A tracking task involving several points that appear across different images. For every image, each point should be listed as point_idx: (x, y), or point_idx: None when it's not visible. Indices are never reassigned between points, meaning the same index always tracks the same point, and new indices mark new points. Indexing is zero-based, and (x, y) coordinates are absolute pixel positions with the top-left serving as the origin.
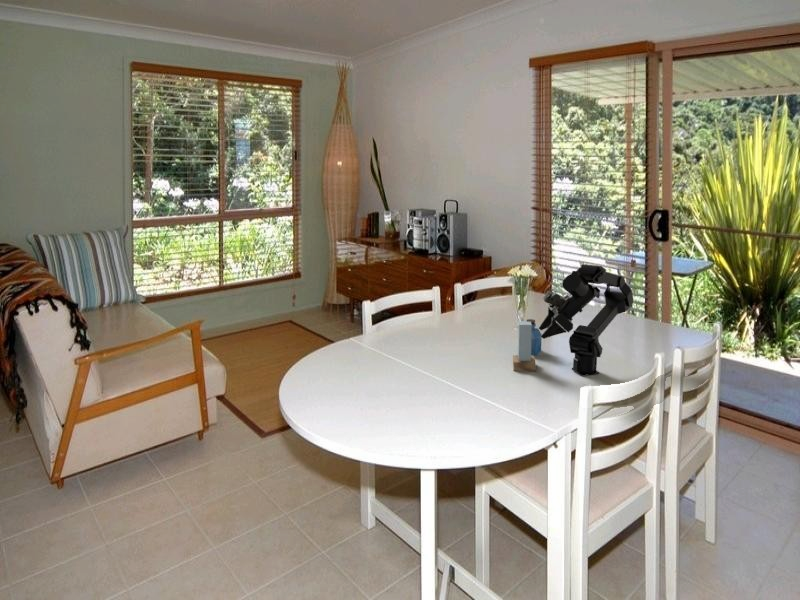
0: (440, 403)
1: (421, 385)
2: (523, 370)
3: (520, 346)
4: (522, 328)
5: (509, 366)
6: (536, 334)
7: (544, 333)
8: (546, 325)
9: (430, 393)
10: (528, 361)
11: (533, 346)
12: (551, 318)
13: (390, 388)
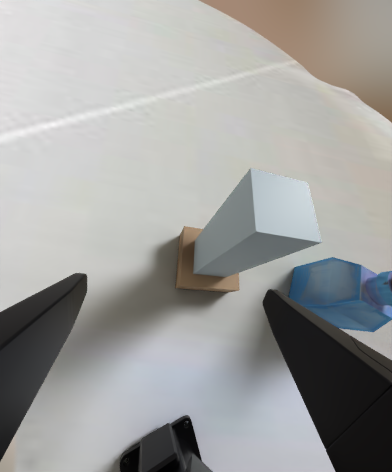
0: (2, 70)
1: (110, 73)
2: (178, 257)
3: (208, 227)
4: (241, 195)
5: None
6: (353, 309)
7: (43, 293)
8: (291, 344)
9: (65, 73)
10: (189, 266)
11: (307, 299)
12: (367, 421)
13: (103, 39)
